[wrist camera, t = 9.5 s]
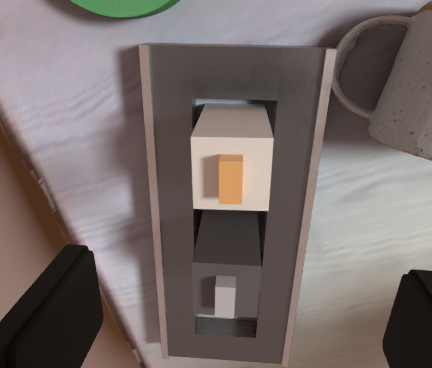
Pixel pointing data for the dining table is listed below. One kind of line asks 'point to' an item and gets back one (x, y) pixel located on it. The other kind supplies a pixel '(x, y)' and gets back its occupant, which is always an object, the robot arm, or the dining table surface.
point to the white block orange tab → (232, 157)
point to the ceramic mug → (398, 85)
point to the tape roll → (126, 7)
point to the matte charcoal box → (227, 264)
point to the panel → (279, 187)
